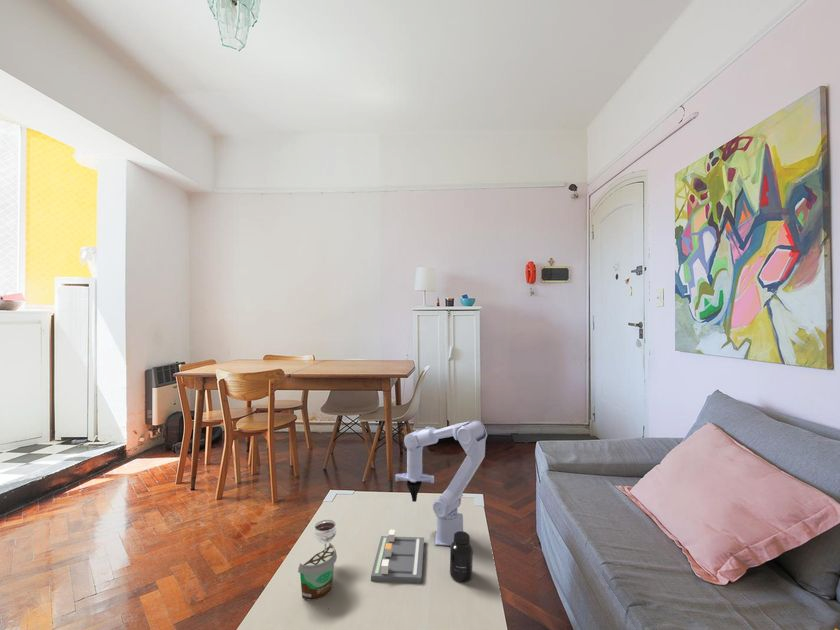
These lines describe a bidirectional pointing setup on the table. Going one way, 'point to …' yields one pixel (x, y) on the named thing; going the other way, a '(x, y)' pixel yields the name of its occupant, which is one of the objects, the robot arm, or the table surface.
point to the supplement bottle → (461, 557)
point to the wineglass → (325, 531)
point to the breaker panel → (400, 560)
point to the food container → (318, 574)
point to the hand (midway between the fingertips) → (414, 500)
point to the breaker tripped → (388, 550)
